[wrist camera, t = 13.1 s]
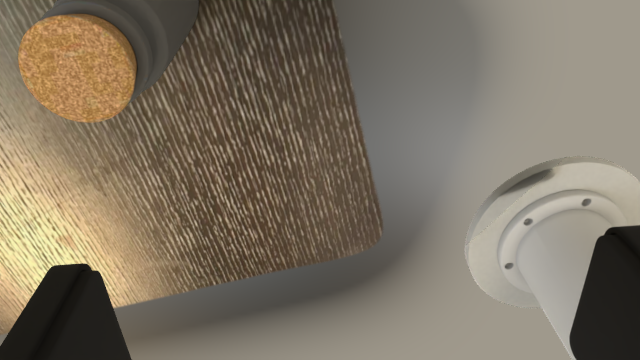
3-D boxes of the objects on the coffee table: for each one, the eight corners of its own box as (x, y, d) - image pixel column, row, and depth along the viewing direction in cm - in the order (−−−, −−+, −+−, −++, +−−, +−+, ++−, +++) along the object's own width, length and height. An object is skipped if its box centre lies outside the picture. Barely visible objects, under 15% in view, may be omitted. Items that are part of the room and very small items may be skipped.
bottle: (114, 37, 35) (16, 129, 22) (107, -54, 32) (-12, -8, 20) (199, 45, 36) (151, 140, 23) (199, -43, 33) (144, 9, 20)
